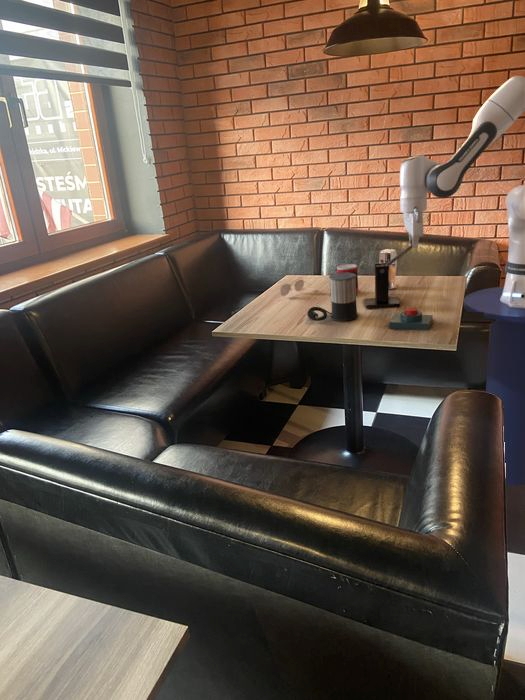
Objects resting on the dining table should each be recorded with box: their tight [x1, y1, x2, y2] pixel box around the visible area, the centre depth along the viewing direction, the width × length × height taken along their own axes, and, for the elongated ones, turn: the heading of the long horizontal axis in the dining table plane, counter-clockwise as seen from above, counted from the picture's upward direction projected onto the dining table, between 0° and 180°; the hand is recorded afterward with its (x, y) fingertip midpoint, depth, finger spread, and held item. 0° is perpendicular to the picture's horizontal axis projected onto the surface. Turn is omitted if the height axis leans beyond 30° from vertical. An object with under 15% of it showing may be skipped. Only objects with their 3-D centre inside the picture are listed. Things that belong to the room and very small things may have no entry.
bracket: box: [364, 262, 401, 309], centre depth 195 cm, size 12×9×15 cm
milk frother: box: [306, 273, 359, 322], centre depth 185 cm, size 14×16×15 cm
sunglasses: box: [279, 279, 318, 300], centre depth 219 cm, size 14×8×5 cm, turn 128°
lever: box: [380, 241, 414, 266], centre depth 191 cm, size 16×5×2 cm
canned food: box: [336, 263, 359, 295], centre depth 214 cm, size 8×8×11 cm
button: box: [405, 307, 418, 315], centre depth 171 cm, size 4×4×2 cm
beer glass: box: [378, 248, 398, 290], centre depth 215 cm, size 7×7×15 cm
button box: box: [389, 310, 434, 331], centre depth 172 cm, size 12×9×4 cm
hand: (413, 246), depth 189 cm, fingers closed on lever, 5 cm apart
